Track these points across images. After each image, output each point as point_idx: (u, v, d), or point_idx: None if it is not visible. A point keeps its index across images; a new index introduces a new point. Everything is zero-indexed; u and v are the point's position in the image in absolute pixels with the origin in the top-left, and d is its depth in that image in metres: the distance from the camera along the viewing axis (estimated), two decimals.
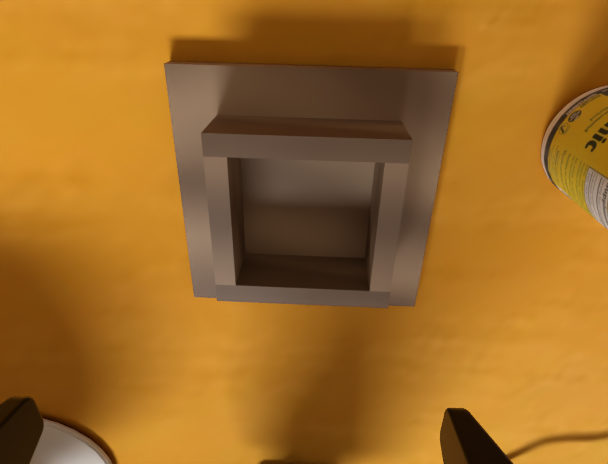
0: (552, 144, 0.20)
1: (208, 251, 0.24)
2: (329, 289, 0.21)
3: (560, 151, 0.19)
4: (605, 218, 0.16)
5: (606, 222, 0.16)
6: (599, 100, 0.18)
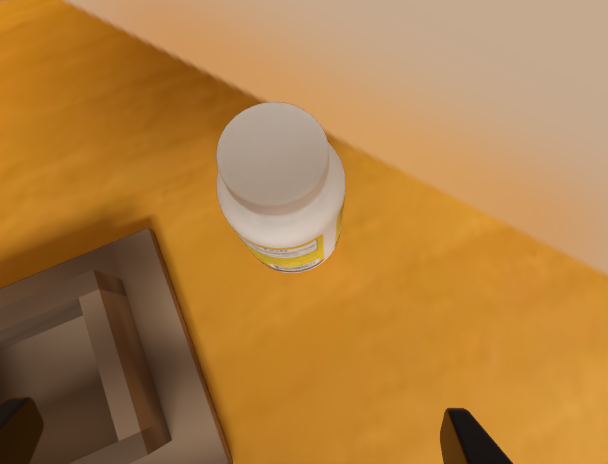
0: None
1: None
2: (74, 461, 0.18)
3: None
4: (246, 240, 0.18)
5: (248, 242, 0.18)
6: None
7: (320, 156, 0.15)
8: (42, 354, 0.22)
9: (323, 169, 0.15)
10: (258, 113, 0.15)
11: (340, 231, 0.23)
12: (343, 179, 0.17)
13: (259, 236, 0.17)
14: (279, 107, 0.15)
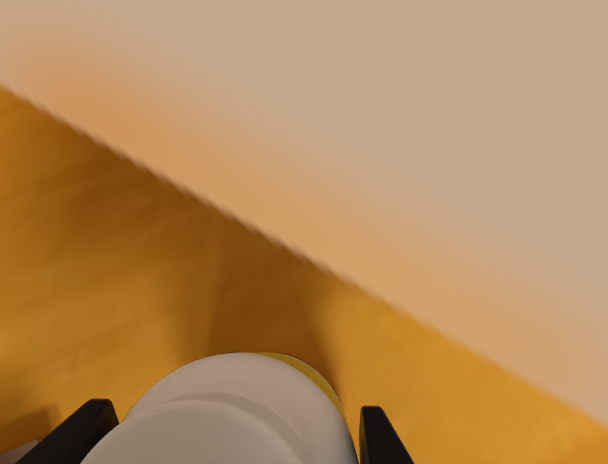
0: None
1: None
2: None
3: None
4: None
5: None
6: None
7: None
8: None
9: None
10: (155, 436, 0.06)
11: None
12: None
13: None
14: (208, 420, 0.06)
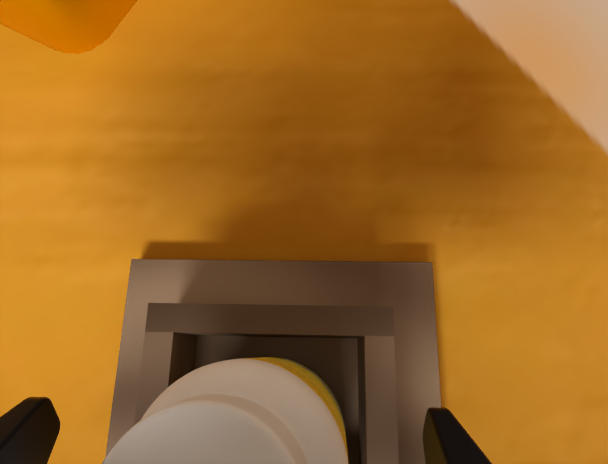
0: None
1: None
2: None
3: None
4: None
5: None
6: None
7: None
8: None
9: None
10: (169, 431, 0.08)
11: None
12: None
13: None
14: (212, 416, 0.08)
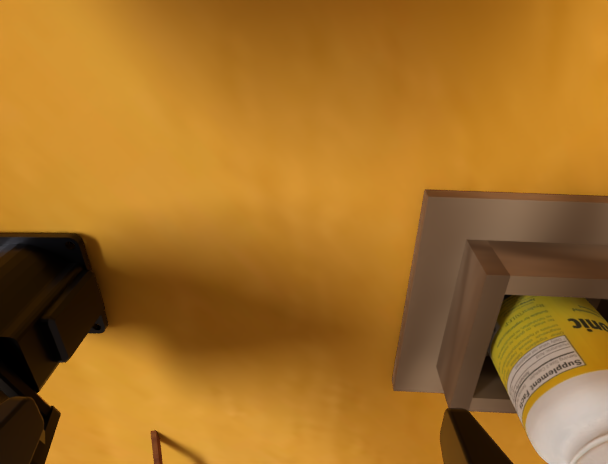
0: None
1: (492, 220, 0.20)
2: (480, 370, 0.21)
3: (535, 301, 0.20)
4: (542, 377, 0.17)
5: (539, 380, 0.17)
6: (584, 299, 0.20)
7: None
8: None
9: None
10: None
11: None
12: None
13: (548, 422, 0.16)
14: None
